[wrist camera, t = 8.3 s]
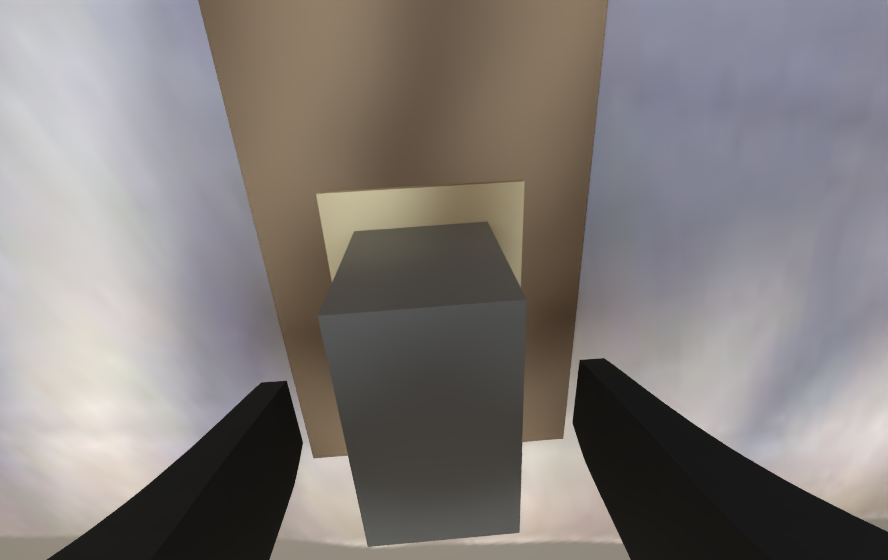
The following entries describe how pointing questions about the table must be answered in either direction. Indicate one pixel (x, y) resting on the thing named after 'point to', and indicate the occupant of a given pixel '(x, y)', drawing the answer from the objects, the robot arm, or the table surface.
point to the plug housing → (429, 380)
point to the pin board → (414, 154)
